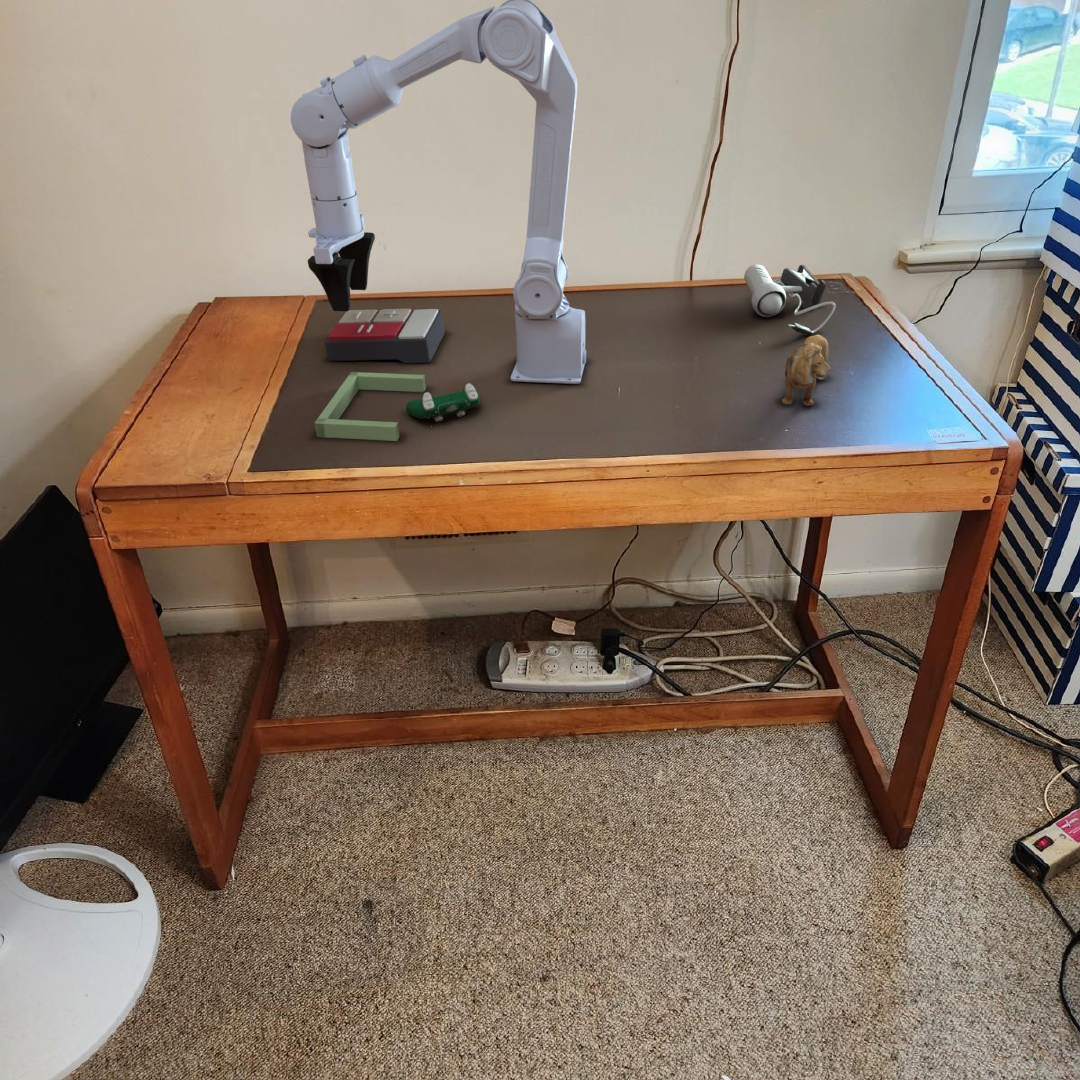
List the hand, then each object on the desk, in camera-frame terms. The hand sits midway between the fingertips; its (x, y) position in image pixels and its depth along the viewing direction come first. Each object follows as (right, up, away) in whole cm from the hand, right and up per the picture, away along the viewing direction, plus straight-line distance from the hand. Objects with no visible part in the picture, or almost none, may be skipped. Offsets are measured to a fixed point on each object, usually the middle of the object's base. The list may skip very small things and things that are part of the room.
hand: (350, 299), depth 121 cm
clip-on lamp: (+64, +2, +17) cm, 66 cm away
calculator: (+3, -4, +11) cm, 12 cm away
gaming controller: (+14, -17, -6) cm, 22 cm away
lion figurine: (+60, -14, -4) cm, 62 cm away
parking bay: (+5, -16, -5) cm, 18 cm away
